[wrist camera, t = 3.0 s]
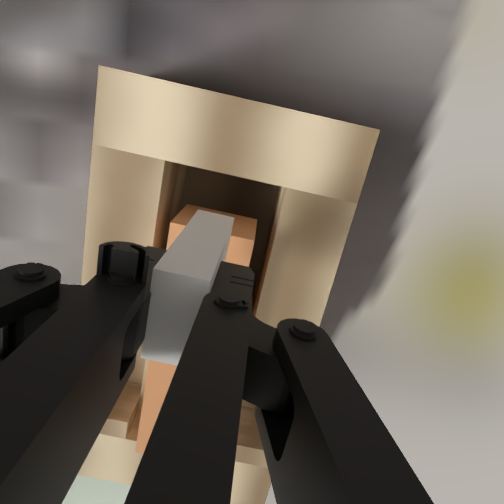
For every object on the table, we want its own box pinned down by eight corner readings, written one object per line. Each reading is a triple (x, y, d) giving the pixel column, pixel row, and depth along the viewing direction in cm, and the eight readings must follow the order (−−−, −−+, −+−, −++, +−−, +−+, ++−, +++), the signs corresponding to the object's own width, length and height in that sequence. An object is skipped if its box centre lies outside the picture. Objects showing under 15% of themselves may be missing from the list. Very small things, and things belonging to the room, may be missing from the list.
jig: (104, 403, 32) (65, 472, 26) (142, 76, 24) (98, 65, 18) (263, 436, 33) (262, 511, 26) (352, 125, 25) (380, 129, 18)
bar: (153, 404, 27) (135, 451, 23) (187, 203, 23) (170, 222, 19) (212, 416, 27) (203, 465, 23) (257, 219, 23) (254, 241, 19)
